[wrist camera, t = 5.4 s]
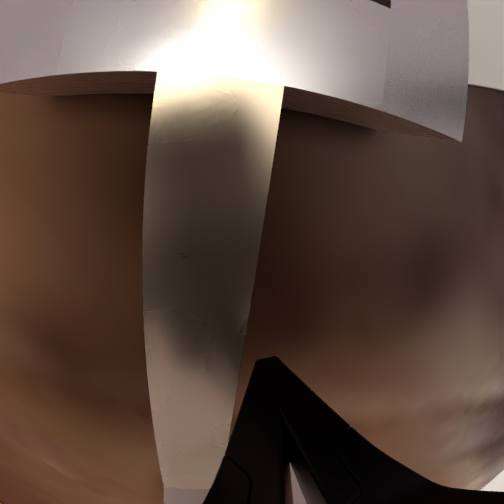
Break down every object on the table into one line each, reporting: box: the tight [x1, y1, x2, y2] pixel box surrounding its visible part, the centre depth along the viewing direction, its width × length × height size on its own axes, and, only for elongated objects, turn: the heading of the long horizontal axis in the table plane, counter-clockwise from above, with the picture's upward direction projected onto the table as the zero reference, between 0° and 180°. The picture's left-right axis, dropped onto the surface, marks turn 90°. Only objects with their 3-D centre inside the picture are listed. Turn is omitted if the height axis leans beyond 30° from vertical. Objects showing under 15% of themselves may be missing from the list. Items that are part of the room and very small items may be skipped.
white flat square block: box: [467, 0, 504, 91], centre depth 7 cm, size 9×9×1 cm
